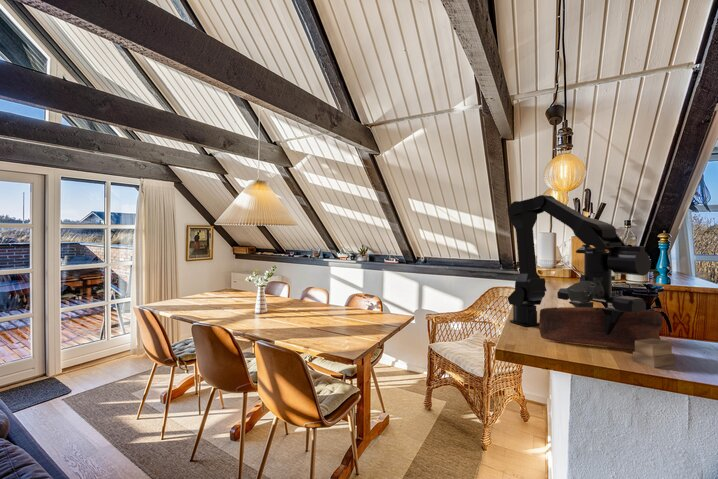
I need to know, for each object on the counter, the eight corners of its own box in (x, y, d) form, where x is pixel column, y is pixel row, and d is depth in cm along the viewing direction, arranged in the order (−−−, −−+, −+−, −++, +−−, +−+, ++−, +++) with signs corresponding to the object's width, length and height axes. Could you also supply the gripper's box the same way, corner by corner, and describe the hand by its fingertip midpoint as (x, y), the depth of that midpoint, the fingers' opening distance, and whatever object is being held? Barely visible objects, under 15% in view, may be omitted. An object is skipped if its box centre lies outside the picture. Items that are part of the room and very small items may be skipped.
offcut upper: (634, 351, 74) (634, 340, 74) (653, 349, 76) (653, 338, 76) (652, 356, 71) (652, 345, 71) (671, 353, 72) (671, 342, 72)
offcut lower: (632, 362, 74) (632, 351, 74) (652, 359, 76) (652, 348, 76) (653, 369, 70) (653, 357, 70) (674, 365, 72) (674, 353, 72)
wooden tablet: (539, 341, 88) (540, 304, 88) (538, 338, 90) (539, 302, 90) (664, 353, 79) (666, 312, 78) (660, 350, 81) (661, 310, 80)
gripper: (542, 269, 90) (542, 325, 91) (615, 276, 73) (615, 346, 73) (571, 268, 94) (571, 322, 94) (647, 275, 77) (647, 341, 77)
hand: (597, 332), depth 85 cm, fingers closed on wooden tablet, 5 cm apart
